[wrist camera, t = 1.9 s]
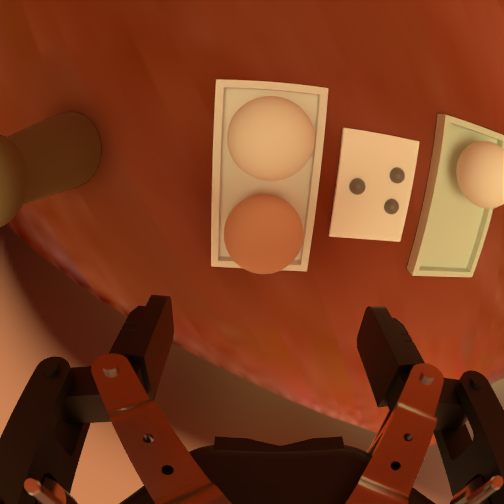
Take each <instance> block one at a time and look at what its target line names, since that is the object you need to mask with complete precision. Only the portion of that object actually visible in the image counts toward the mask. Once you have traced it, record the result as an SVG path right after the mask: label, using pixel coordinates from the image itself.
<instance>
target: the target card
mask: <svg viewBox="0 0 504 504" xmlns="http://www.w3.org/2000/svg"><path fill="white" fill-rule="evenodd" d="M418 149H419V141H415V140H410V139H405V138H401V137H396V136H391V135H385V134H380V133H374V132H369V131H363V130H357V129H350V128H342V138H341V147H340V156H339V164H338V172H337V180H336V187H335V194H334V201H333V208H332V215H331V222H330V228H329V234H328V235H329V237H343V238H357V239H371V240H384V241H397V242H400V240H401V236H402V232H403V228H404V224H405V219H406V215H407V210H408V205H409V200H410V195H411V190H412V185H413V179H414V174H415V168H416V162H417V155H418Z"/></svg>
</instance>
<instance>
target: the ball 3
mask: <svg viewBox="0 0 504 504" xmlns="http://www.w3.org/2000/svg"><path fill="white" fill-rule="evenodd" d="M456 175H457V181H458V184H459V187H460V189H461V191H462V193H463V194H464V196H465V197H466V198H467V199H468V200H469V201H470V202H472V203H473V204H475V205H477V206H479V207H482V208H489V209H490V208H496V207H499V206H501V205H503V204H504V149H503V148H501V147H500V146H499V145H497V144H495V143H493V142H489V141H477V142H474V143H472V144H470V145H468V146H467V147H466V148H465V149H464V150H463V151H462V153H461V154H460V156H459V159H458V162H457V167H456Z"/></svg>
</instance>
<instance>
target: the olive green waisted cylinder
mask: <svg viewBox="0 0 504 504" xmlns="http://www.w3.org/2000/svg"><path fill="white" fill-rule="evenodd" d="M100 158H101V140H100V137H99V134H98V131H97V128H96V127H95V126H94V124H93V123H92V122H91V120H90V119H88V118H87V117H85V116H84V115H83V114H80V113H76V112H67V113H62V114H59V115H57V116H54V117H52V118H49V119H47V120H44V121H42V122H39V123H37V124H35V125H32V126H30V127H28V128H25V129H23V130H21V131H19V132H17V133H14V134H12V135H10V136H8V137H6V136H2V135H0V227H2V226H3V225H5V224H7V223H8V222H9V221H11V220H12V219H13V218H14V216H15V215H16V214H17V212H18V211H19V210H20V208H21V207H22V206H23V204H25V203H28V202H31V201H34V200H37V199H40V198H43V197H46V196H49V195H52V194H55V193H59V192H62V191H65V190H69V189H72V188H75V187H78V186H80V185H82V184H85V183H86V182H87V181H88V180H89V179H90V178H91V177H92V176H93V175H94V174H95V172H96V170H97V168H98V166H99V162H100Z"/></svg>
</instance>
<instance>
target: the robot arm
mask: <svg viewBox="0 0 504 504" xmlns="http://www.w3.org/2000/svg"><path fill="white" fill-rule="evenodd" d="M173 334H174V325H173V315H172V305H171V298H170V296H159V295H151V297H150V299H149V301H148V303H147V305H146V306H138V307H137V308H135V309H134V310H133V311H132V312H130V314H129V316H128V317H127V319H126V323H124V325H123V327H122V330H121V331H120V333H119V335H118V337H117V339H116V341H115V343H114V345H113V346H112V348H111V351H110V352H109V354H106V355H103V356H100V357H99V358H97V359H96V360H95V361H94V363H93V364H92V366H89V367H76V368H70V365H69V363H68V362H67V361H66V360H65V359H63V358H61V357H50V358H47V359H44V360H43V361H41V362H40V363H39V364H38V366H37V367H36V369H35V371H34V372H33V374H32V376H31V378H30V380H29V381H28V383H27V385H26V387H25V389H24V391H23V393H22V395H21V397H20V398H19V400H18V402H17V405H16V406H15V408H14V410H13V412H12V414H11V416H10V418H9V420H8V423H7V425H6V427H5V429H4V431H3V433H2V435H1V438H0V504H78V503H77V501H76V500H75V499H74V498H73V497H72V496H71V495H70V491H71V487H72V483H73V479H74V476H75V472H76V469H77V465H78V462H79V458H80V455H81V451H82V448H83V445H84V442H85V438H86V435H87V432H88V429H89V426H90V423H94V422H109V421H111V422H112V424H113V426H114V428H115V430H116V432H117V434H118V437H119V439H120V441H121V443H122V445H123V447H124V449H125V451H126V453H127V454H128V457H129V459H130V461H131V462H132V464H133V466H134V468H135V470H136V472H137V473H138V475H139V477H140V479H141V481H142V482H143V484H144V486H143V487H142V488H140V489H139V490H137V491H136V492H135V493H133V494H132V495H131V496H129V497H128V498H126V499H125V500H124V501H122V502H121V503H120V504H435V503H434V502H432V501H431V500H429V499H428V498H426V497H425V496H424V495H422V494H421V493H420V492H418V491H417V490H416V489H414V488H413V485H414V483H415V480H416V478H417V475H418V473H419V471H420V468H421V466H422V463H423V461H424V457H425V455H426V452H427V449H428V447H429V444H430V441H431V438H432V435H433V432H434V435H435V438H436V441H437V444H438V448H439V451H440V454H441V457H442V460H443V464H444V467H445V470H446V474H447V477H448V481H449V484H450V488H451V492H452V495H453V498H452V499H451V501H450V504H504V410H503V409H502V406H501V404H500V402H499V400H498V398H497V397H496V395H495V393H494V391H493V389H492V387H491V385H490V384H489V382H488V380H487V379H486V378H485V377H484V376H483V375H482V374H481V373H479V372H476V371H467V372H465V373H464V374H463V375H462V376H461V378H460V380H455V379H448V378H443V375H442V373H441V372H440V371H439V369H437V368H436V367H434V366H432V365H430V364H426V363H424V361H423V359H422V357H421V355H420V353H419V352H418V350H417V348H416V346H415V344H414V342H412V339H411V337H410V335H408V332H407V330H406V328H405V327H404V325H403V324H402V323H400V322H399V321H398V320H397V319H396V318H392V317H391V315H390V314H389V312H388V310H387V308H386V307H374V306H369V307H367V308H366V310H365V314H364V317H363V320H362V323H361V327H360V330H359V333H358V337H357V348H358V351H359V354H360V357H361V360H362V362H363V365H364V368H365V371H366V374H367V377H368V380H369V382H370V385H371V388H372V391H373V394H374V397H375V400H376V403H377V406H378V407H384V406H388V407H389V412H388V413H387V415H386V417H385V419H384V421H383V423H382V425H381V427H380V429H379V431H378V433H377V435H376V436H375V438H374V440H373V442H372V444H371V446H370V447H369V449H368V451H367V452H365V451H363V450H361V449H358V448H355V447H352V446H347V445H344V443H343V439H342V437H329V438H313V439H308V440H305V441H301V442H297V443H293V444H288V445H284V446H277V445H273V444H268V443H264V442H259V441H255V440H251V439H247V438H245V439H244V438H228V437H215V442H214V445H210V446H205V447H201V448H198V449H195V450H192V451H190V452H188V451H187V449H186V448H185V446H184V445H183V444H182V442H181V441H180V439H179V437H178V436H177V435H176V433H175V432H174V430H173V429H172V427H171V425H170V424H169V423H168V421H167V419H166V418H165V416H164V415H163V413H162V411H161V410H160V408H159V407H158V405H157V404H156V402H155V397H156V394H157V391H158V387H159V384H160V380H161V377H162V374H163V370H164V367H165V364H166V360H167V357H168V354H169V351H170V347H171V344H172V341H173ZM467 420H468V421H469V423H470V425H471V428H472V430H473V434H474V438H473V441H472V439H471V437H470V434H469V432H468V429H467V427H466V424H465V423H466V421H467Z"/></svg>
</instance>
